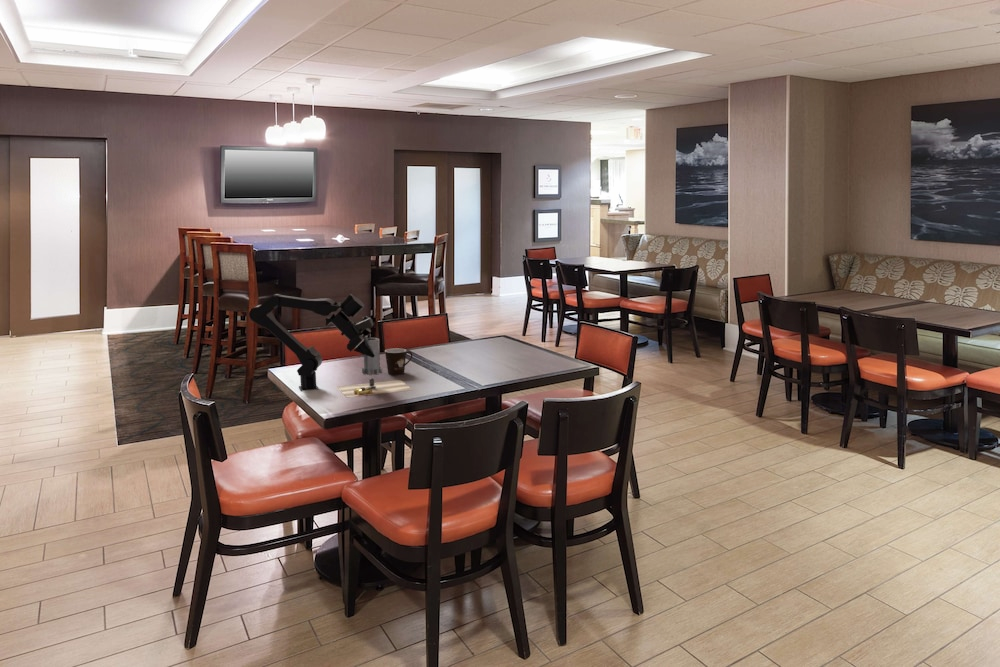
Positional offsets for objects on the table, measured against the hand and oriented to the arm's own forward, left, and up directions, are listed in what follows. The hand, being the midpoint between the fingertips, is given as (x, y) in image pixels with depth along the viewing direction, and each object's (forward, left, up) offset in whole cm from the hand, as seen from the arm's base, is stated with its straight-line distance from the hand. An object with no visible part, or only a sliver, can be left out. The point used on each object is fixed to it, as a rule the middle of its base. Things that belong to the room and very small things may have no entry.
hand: (375, 355), depth 280 cm
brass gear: (+5, -6, -13) cm, 15 cm away
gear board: (+1, -1, -13) cm, 13 cm away
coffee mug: (-19, +15, -13) cm, 27 cm away
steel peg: (-1, -2, -13) cm, 13 cm away
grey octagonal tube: (-1, -1, -7) cm, 7 cm away
